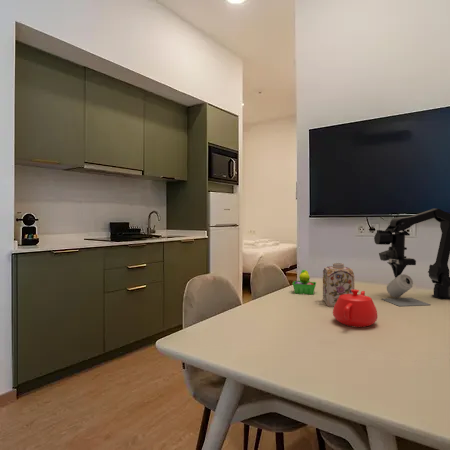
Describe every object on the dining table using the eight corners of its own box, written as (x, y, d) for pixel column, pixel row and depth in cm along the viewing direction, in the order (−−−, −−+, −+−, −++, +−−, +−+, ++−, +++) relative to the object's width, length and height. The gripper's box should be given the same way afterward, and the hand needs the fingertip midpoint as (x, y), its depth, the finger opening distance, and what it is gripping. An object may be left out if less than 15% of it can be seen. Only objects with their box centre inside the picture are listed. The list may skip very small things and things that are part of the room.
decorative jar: (348, 300, 163) (348, 261, 163) (355, 307, 152) (355, 265, 151) (321, 299, 165) (322, 261, 164) (326, 306, 153) (326, 265, 153)
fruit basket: (292, 293, 178) (292, 271, 177) (294, 290, 186) (294, 268, 186) (315, 295, 174) (315, 272, 174) (316, 291, 183) (316, 269, 182)
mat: (411, 298, 167) (411, 297, 167) (430, 305, 155) (430, 304, 155) (381, 299, 165) (381, 298, 165) (398, 306, 153) (398, 305, 153)
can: (403, 298, 168) (417, 288, 158) (388, 298, 167) (401, 288, 157) (398, 283, 172) (411, 273, 162) (383, 283, 171) (396, 272, 161)
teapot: (369, 335, 116) (370, 299, 116) (323, 327, 125) (323, 293, 125) (384, 317, 137) (385, 286, 136) (343, 311, 145) (344, 281, 145)
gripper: (371, 243, 175) (370, 274, 175) (394, 246, 156) (393, 281, 157) (392, 243, 176) (390, 274, 177) (417, 246, 158) (416, 281, 158)
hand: (396, 277), depth 167 cm, fingers closed
